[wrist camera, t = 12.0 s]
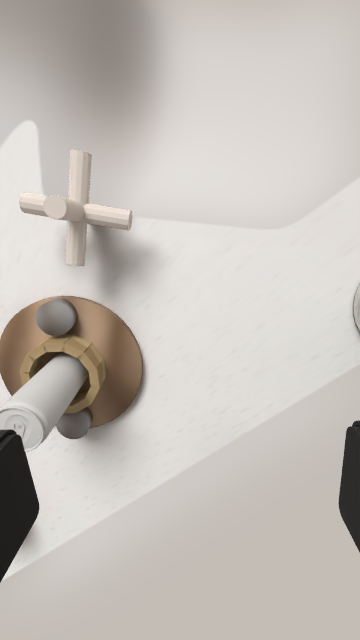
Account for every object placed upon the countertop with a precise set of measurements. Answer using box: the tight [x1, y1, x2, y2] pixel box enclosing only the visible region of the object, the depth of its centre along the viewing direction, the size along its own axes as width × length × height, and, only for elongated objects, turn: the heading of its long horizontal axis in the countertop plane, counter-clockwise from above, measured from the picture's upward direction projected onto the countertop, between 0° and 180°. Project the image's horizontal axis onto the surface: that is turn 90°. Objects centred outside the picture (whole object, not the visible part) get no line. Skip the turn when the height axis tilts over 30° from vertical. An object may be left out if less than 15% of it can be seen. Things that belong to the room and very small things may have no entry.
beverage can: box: [0, 353, 88, 452], centre depth 30 cm, size 5×5×12 cm
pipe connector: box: [19, 150, 132, 266], centre depth 27 cm, size 10×10×10 cm
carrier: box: [0, 296, 143, 439], centre depth 35 cm, size 18×18×4 cm
